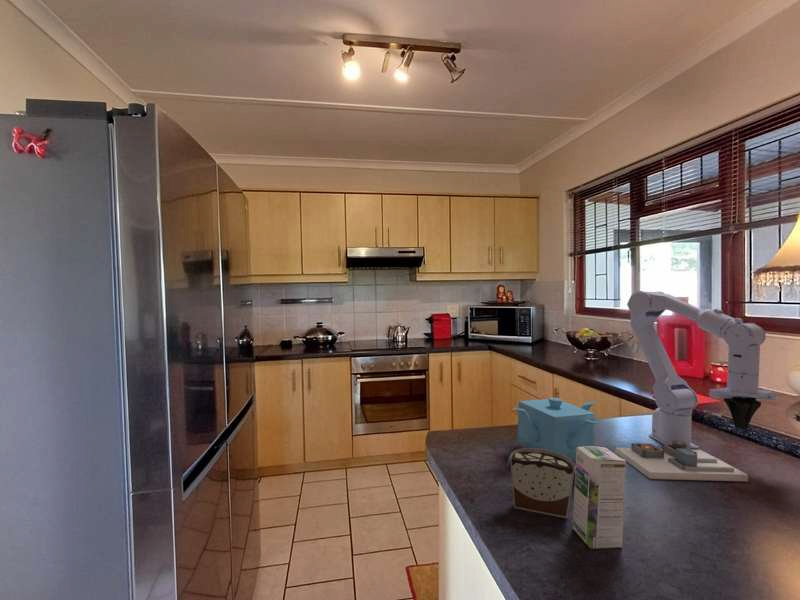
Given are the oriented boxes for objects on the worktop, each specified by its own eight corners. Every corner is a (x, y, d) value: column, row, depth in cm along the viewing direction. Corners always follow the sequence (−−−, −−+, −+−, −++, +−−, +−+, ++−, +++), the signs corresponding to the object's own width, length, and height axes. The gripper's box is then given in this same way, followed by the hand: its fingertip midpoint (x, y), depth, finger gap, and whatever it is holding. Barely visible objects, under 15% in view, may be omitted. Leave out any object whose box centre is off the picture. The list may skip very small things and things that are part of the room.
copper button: (637, 449, 99) (637, 443, 99) (649, 450, 99) (649, 444, 99) (645, 454, 96) (645, 448, 96) (657, 455, 96) (657, 448, 96)
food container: (573, 503, 76) (574, 452, 76) (576, 520, 70) (578, 465, 70) (507, 491, 80) (509, 443, 80) (506, 506, 74) (507, 454, 74)
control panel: (615, 453, 101) (615, 441, 101) (699, 455, 101) (700, 443, 101) (649, 478, 87) (650, 465, 87) (747, 481, 87) (748, 467, 87)
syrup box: (571, 528, 68) (573, 445, 68) (603, 527, 68) (606, 445, 68) (589, 549, 62) (592, 460, 62) (624, 548, 63) (627, 459, 62)
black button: (669, 446, 99) (669, 440, 99) (680, 446, 99) (681, 440, 99) (677, 451, 96) (677, 444, 96) (689, 451, 96) (689, 445, 96)
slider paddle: (675, 460, 93) (675, 448, 93) (685, 461, 93) (685, 448, 93) (686, 467, 89) (686, 454, 89) (696, 467, 89) (697, 454, 89)
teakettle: (522, 438, 110) (523, 386, 110) (596, 451, 102) (597, 395, 102) (509, 463, 94) (511, 402, 93) (596, 482, 85) (598, 415, 85)
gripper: (727, 375, 91) (724, 433, 91) (789, 377, 91) (786, 434, 91) (703, 369, 98) (701, 423, 98) (761, 370, 98) (758, 424, 98)
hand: (740, 428), depth 95 cm, fingers closed
